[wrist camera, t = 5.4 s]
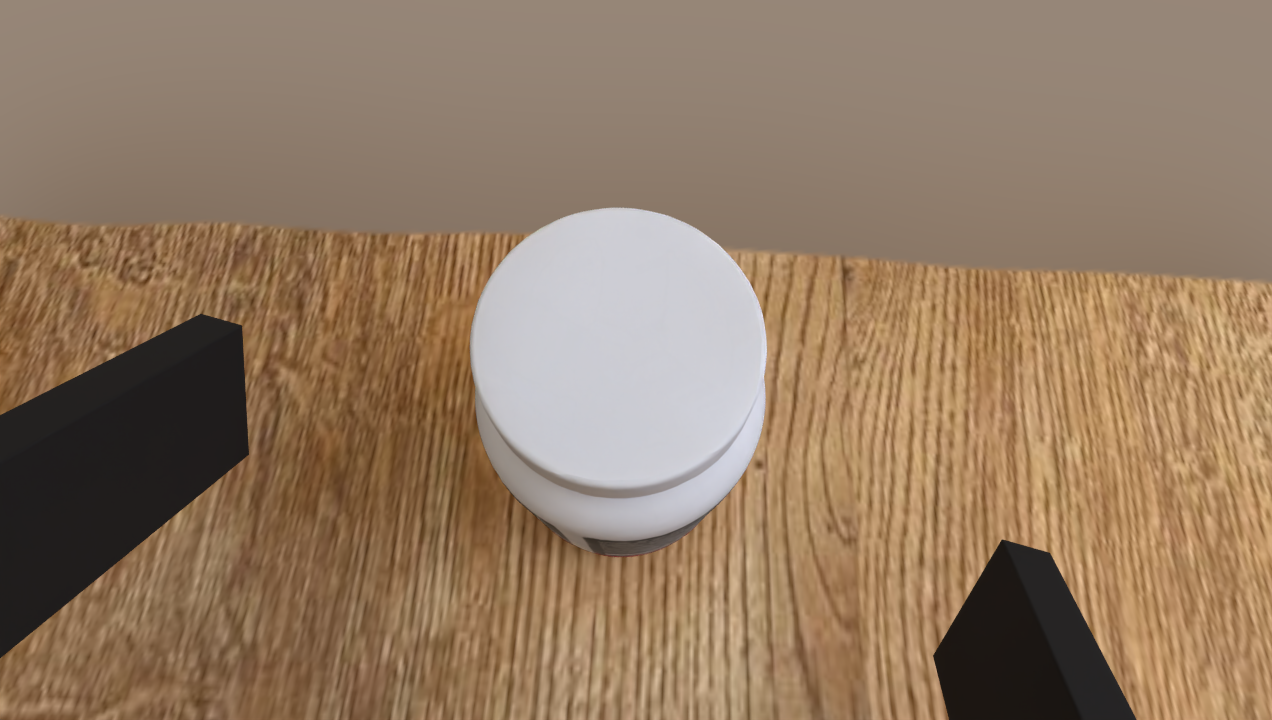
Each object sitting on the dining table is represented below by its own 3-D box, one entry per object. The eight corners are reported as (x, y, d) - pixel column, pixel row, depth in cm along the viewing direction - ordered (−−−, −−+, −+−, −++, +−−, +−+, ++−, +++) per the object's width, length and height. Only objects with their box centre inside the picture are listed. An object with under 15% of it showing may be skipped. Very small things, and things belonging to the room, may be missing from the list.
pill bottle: (740, 391, 21) (839, 229, 12) (692, 583, 19) (763, 578, 10) (556, 340, 21) (507, 143, 12) (493, 524, 20) (378, 464, 10)
